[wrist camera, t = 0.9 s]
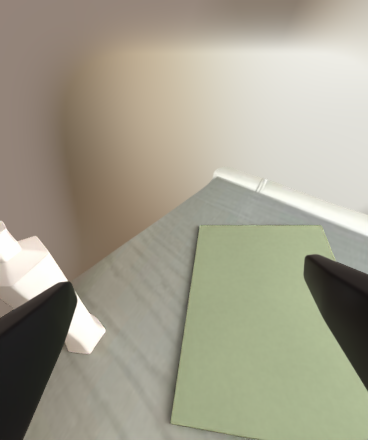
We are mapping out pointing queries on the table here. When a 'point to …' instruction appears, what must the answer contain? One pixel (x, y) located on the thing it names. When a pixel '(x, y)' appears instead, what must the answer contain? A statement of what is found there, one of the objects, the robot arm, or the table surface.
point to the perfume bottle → (41, 286)
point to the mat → (263, 342)
